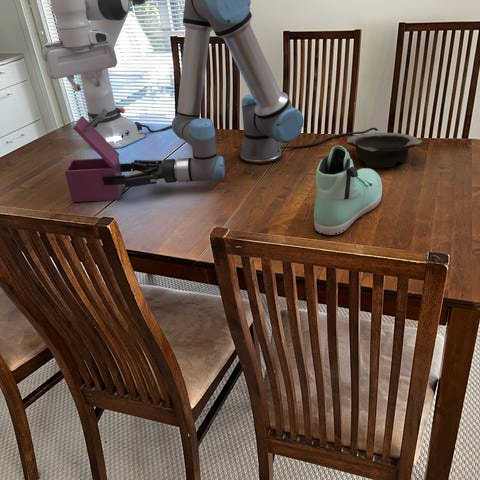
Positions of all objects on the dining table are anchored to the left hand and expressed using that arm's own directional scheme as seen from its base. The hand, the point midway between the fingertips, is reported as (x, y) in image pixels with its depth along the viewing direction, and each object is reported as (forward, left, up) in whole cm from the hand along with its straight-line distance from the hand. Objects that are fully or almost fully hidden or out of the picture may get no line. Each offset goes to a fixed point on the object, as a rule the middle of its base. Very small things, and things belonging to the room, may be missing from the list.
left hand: (87, 88), depth 141 cm
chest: (+3, -3, -34) cm, 34 cm away
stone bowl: (-75, +55, -34) cm, 99 cm away
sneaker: (-38, +67, -34) cm, 84 cm away
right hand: (0, 0, -27) cm, 27 cm away
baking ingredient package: (-20, -7, -34) cm, 41 cm away
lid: (+1, -1, -16) cm, 17 cm away
